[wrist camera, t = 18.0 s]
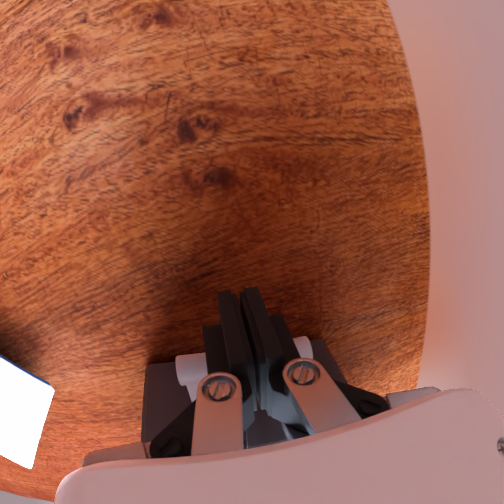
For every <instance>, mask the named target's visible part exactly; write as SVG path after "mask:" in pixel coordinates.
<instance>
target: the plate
mask: <svg viewBox="0 0 504 504" xmlns="http://www.w3.org/2000/svg"><path fill="white" fill-rule="evenodd" d="M53 394H54V389H53V388H52V386H51V385H50V384H49V383H48V382H47V381H45V380H43V379H41V378H39V377H37V376H36V375H34V374H32V373H30V372H29V371H27V370H25V369H23V368H22V367H20V366H18V365H17V364H15V363H13V362H12V361H10V360H9V359H7V358H5V357H4V356H2V355H1V354H0V454H1V455H3V456H5V457H6V458H8V459H10V460H12V461H14V462H16V463H18V464H20V465H22V466H24V467H27V468H32V464H33V460H34V456H35V452H36V448H37V445H38V441H39V438H40V434H41V431H42V428H43V424H44V421H45V418H46V415H47V412H48V409H49V406H50V403H51V400H52V397H53Z"/></svg>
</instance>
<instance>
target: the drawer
mask: <svg viewBox="0 0 504 504" xmlns="http://www.w3.org/2000/svg"><path fill="white" fill-rule="evenodd" d="M293 340H294V343H295V345H296V347H297V349H298V352H299V354H300V356H301V358H310V359H314V360H316V361H317V362H319V363H320V364H321V365H322V366H323V367H324V369H325V370H326V371H327V373H328V374H329V376H330V377H331V378H332V379H334V380H337V381H339V382H342V383H345V384H347V382H346V380H345V378H344V377H343V375H342V373H341V371H340V369H339V368H338V366H337V364H336V362H335V361H334V359H333V357H332V355H331V354H330V352H329V350H328V348H327V346H326V345H325V343H324V341H323V339H322V338H320V339H316V340H311V341H309V339H308V338H307V337H306V336H302V337H297V338H293ZM207 375H208V373H207V364H206V355H205V352H204V353H196V354H188V355H179V356H176V362H170V363H159V364H149V365H148V376H147V389H146V405H145V426H144V443H147V442H151V441H152V440H153V439H154V437H155V436H156V435H158V434H159V433H160V432H161V431H162V430H163V429H164V428H165V427H166V426H167V425H169V424H170V423H171V422H172V421H173V420H174V419H175V418H176V417H177V416H178V415H179V414H181V413H182V412H183V411H184V410H185V409H186V408H187V407H188V406H189V405H190V404H191V403H192V402H193V401H194V400H195V399H196V396H197V387H198V384H199V382H200V381H201V380H202V378H204V377H205V376H207ZM256 403H257V411H254V419H255V420H254V422H253V423H252V424H251V425H250V426H249V428H248V429H247V445H248V449H250V448H256V447H261V446H266V445H271V444H276V443H281V442H285V441H289V440H288V438H287V436H286V434H285V432H284V430H283V428H282V427H281V423H280V421H279V420H277V419H275V418H272V417H271V416H268V415H267V411H266V409H263V410H261V408H260V405H259V401H258V397H257V394H256Z"/></svg>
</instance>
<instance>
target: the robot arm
mask: <svg viewBox="0 0 504 504" xmlns="http://www.w3.org/2000/svg"><path fill="white" fill-rule="evenodd" d="M239 295H240V307H239V304H238V300H237V296H236V293H230V290H225V291H218V292H217V299H218V307H219V315H220V322H221V323H219V324H212V325H204V326H203V336H204V346H205V355H206V364H207V373H208V375H207V376H205V377H204V378H202V380H201V381H200V382H199V384H198V387H197V396H196V399H195V400H194V401H193V402H192V403H191V404H190V405H189V406H188V407H187V408H186V409H185V410H184V411H183V412H182V413H181V414H179V415H178V416H177V417H176V418H175V419H174V420H173V421H172V422H171V423H170V424H169V425H167V426H166V427H165V428H164V429H163V430H162V431H161V432H160V433H159V434H158V435H156V436H155V437H154V439H153V440H152V441H151V442H147V443H143V442H142V441H140V442H136V443H131V444H127V445H122V446H117V447H112V448H106V449H101V450H95V451H92V452H90V453H88V454H87V455H86V456H85V458H84V460H83V464H82V468H80V469H77V470H75V471H73V472H71V473H70V474H68V475H67V476H66V477H65V478H64V479H63V480H62V481H61V483H60V485H59V487H58V490H57V493H56V496H55V501H54V504H504V417H503V416H502V414H501V413H500V412H499V411H498V409H497V408H496V407H495V406H494V405H493V404H492V403H491V402H490V401H489V400H488V399H487V398H486V397H485V396H484V395H482V394H481V393H480V392H478V391H476V390H472V389H463V388H462V389H461V388H460V389H449V390H444V391H441V390H439V389H438V388H435V387H424V388H419V389H414V390H408V391H402V392H396V393H389V394H386V396H385V397H381V396H379V395H377V394H375V393H372V392H368V391H365V390H362V389H360V388H357V387H354V386H351V385H348V384H345V383H342V382H339V381H337V380H334V379H332V378H331V377H330V376H329V374H328V373H327V371H326V370H325V369H324V367H323V366H322V365H321V364H320V363H319V362H317V361H316V360H314V359H310V358H301V356H300V354H299V352H298V349H297V347H296V345H295V343H294V340H293V338H292V336H291V334H290V331H289V329H288V327H287V325H286V323H285V320H284V318H283V316H282V315H281V314H278V315H272V316H269V314H268V311H267V309H266V306H265V304H264V301H263V299H262V296H261V293H260V291H259V288H258V286H254V287H247V288H244V292H239ZM240 308H241V311H240ZM256 394H257V397H258V401H259V405H260V408H261V410H263V409H266V411H267V415H268V416H271V417H272V418H275V419H277V420H279V421H280V423H281V427H282V428H283V430H284V432H285V434H286V436H287V438H288V440H289V441H285V442H281V443H276V444H271V445H266V446H261V447H256V448H250V449H248V445H247V429H248V428H249V426H250V425H251V424H252V423H253V422H254V420H255V419H254V411H257V403H256Z"/></svg>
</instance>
